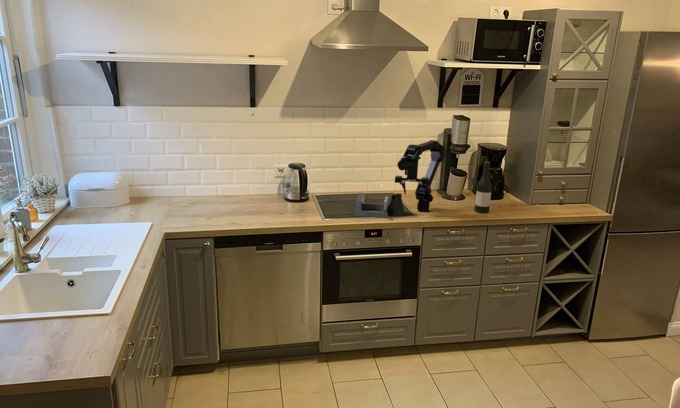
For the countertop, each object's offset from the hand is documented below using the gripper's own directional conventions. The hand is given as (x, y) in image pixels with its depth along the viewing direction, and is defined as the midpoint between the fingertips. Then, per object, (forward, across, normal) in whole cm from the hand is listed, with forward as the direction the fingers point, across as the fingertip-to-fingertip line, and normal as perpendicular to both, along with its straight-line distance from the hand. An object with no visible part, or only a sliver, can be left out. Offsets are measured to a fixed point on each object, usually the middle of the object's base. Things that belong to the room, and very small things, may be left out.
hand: (410, 194), depth 288 cm
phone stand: (+12, +8, 0) cm, 15 cm away
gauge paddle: (+12, +14, +3) cm, 18 cm away
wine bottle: (+12, -42, -17) cm, 47 cm away
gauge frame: (+12, +20, 0) cm, 23 cm away
